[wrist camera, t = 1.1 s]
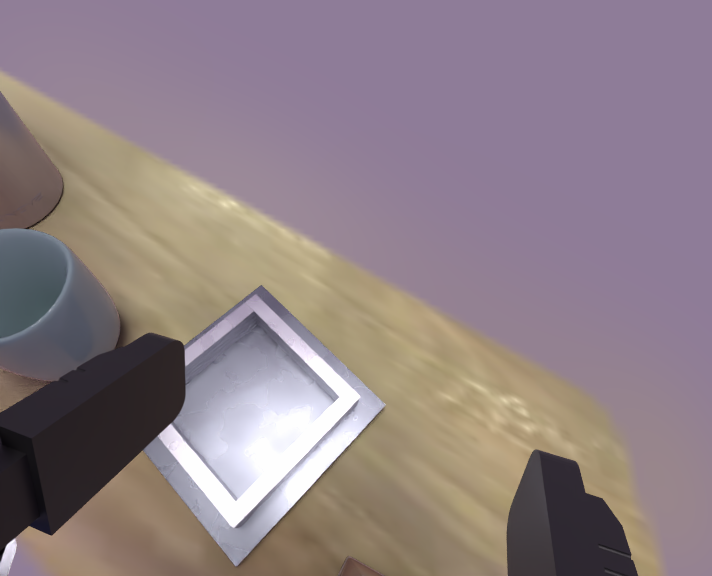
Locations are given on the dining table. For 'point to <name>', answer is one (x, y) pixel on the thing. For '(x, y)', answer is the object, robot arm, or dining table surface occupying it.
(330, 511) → the dining table surface
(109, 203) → the dining table surface
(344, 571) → the skincare box
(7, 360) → the cup
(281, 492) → the tray
